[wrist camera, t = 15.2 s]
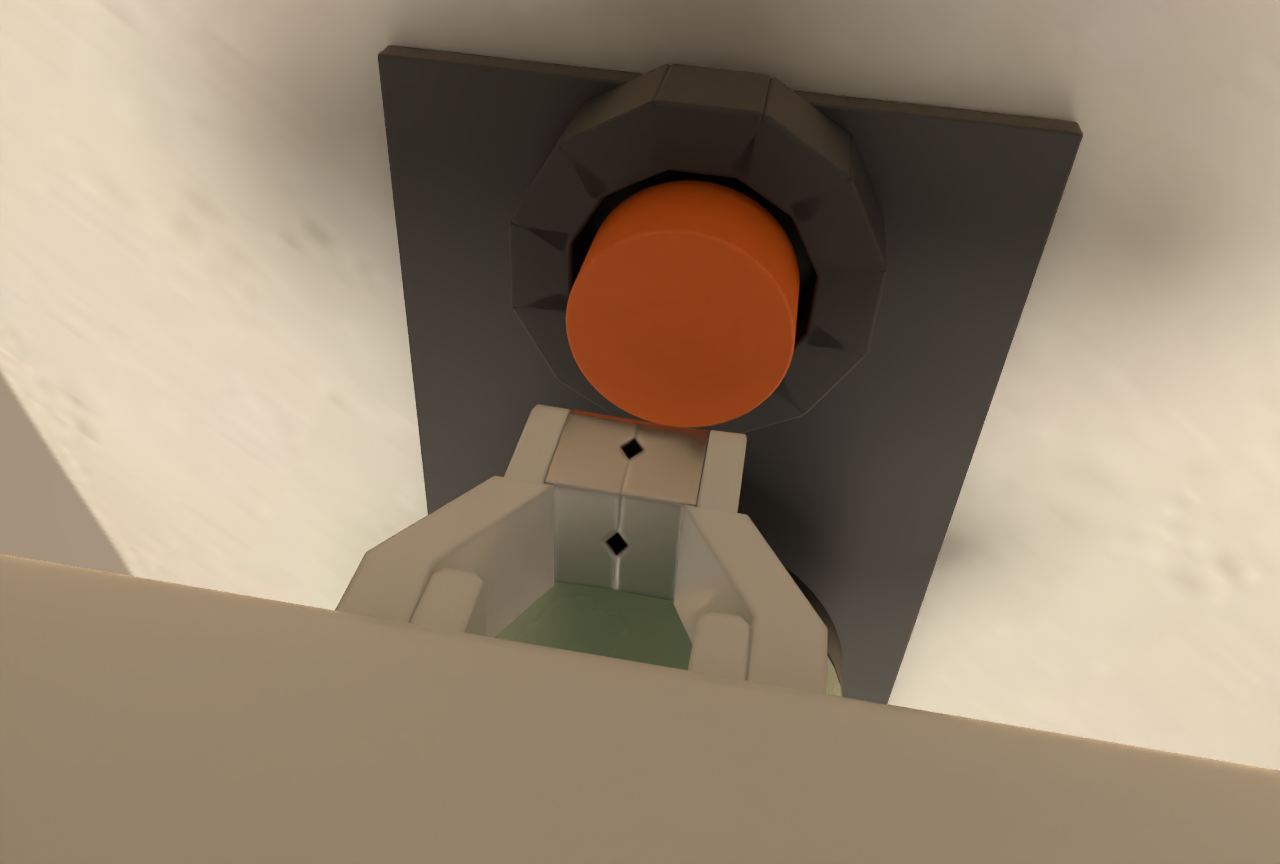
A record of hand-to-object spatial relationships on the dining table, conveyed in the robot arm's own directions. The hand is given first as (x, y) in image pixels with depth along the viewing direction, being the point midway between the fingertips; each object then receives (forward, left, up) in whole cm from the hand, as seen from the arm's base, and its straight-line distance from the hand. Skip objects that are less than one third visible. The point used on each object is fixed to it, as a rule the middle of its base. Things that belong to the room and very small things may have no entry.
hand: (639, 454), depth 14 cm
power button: (0, 0, -6) cm, 6 cm away
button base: (+6, 0, -8) cm, 10 cm away
